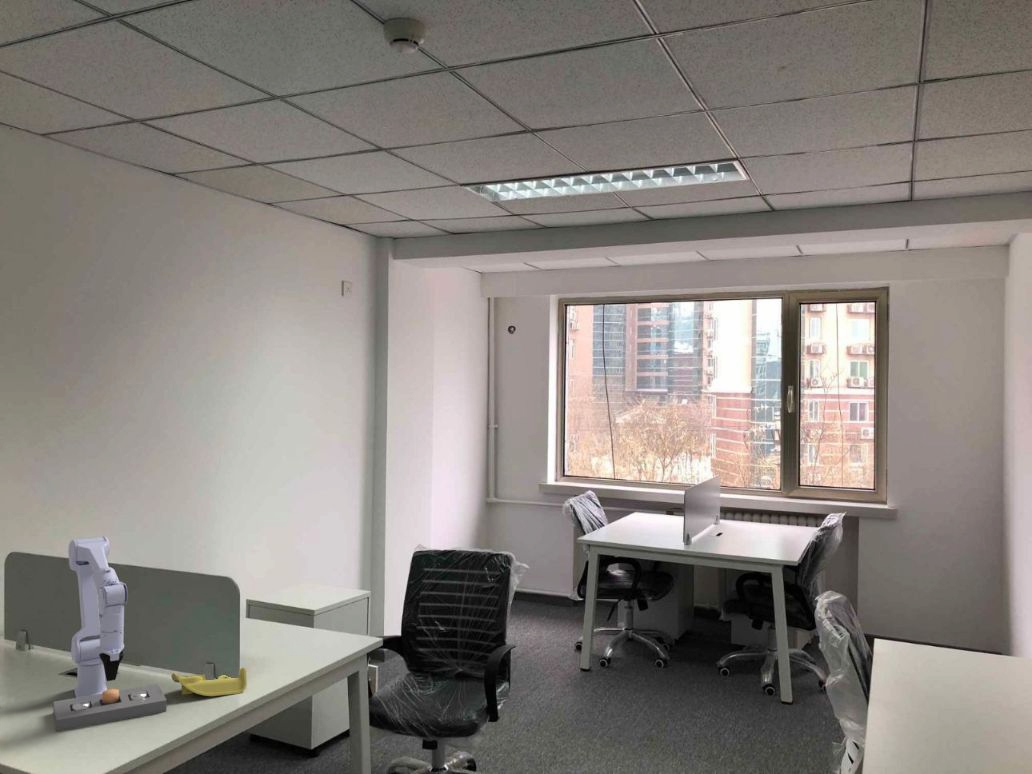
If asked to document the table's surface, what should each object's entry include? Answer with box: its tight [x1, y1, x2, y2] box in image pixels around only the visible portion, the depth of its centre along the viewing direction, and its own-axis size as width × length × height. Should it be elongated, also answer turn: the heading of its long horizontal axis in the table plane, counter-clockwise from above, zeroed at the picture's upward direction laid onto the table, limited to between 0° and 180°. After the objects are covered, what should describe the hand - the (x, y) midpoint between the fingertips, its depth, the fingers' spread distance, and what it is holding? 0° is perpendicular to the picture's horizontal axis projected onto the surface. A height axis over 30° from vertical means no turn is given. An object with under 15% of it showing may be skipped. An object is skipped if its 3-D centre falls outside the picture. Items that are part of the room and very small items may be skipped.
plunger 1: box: [72, 701, 90, 711], centre depth 212 cm, size 4×4×2 cm
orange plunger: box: [102, 688, 120, 703], centre depth 216 cm, size 4×4×2 cm
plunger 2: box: [131, 692, 147, 700], centre depth 220 cm, size 4×4×2 cm
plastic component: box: [171, 666, 248, 697], centre depth 232 cm, size 20×7×10 cm
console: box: [52, 683, 168, 732], centre depth 216 cm, size 14×26×3 cm, turn 123°
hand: (110, 679), depth 216 cm, fingers closed
